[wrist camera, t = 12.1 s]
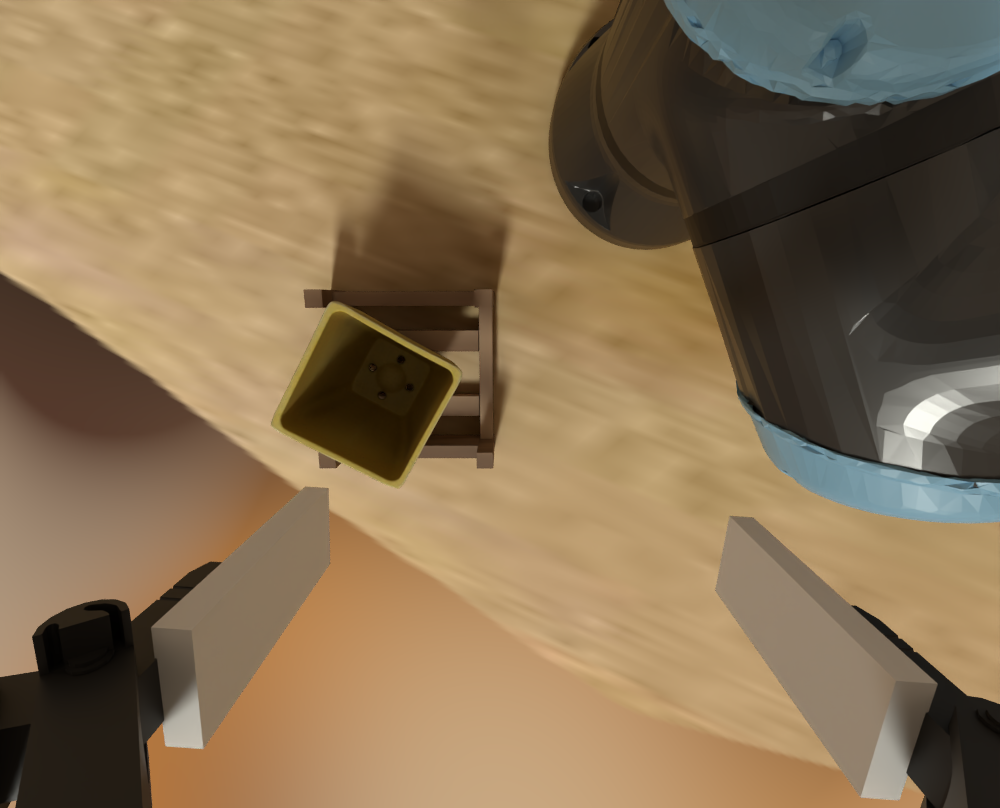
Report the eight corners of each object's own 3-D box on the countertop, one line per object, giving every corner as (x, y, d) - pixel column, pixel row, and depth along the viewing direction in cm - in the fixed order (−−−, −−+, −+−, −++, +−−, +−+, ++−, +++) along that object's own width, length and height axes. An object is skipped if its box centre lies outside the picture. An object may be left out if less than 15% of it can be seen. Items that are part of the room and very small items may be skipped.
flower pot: (314, 397, 36) (265, 427, 27) (363, 299, 35) (330, 297, 26) (414, 448, 38) (399, 492, 29) (465, 355, 36) (466, 372, 28)
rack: (330, 291, 36) (303, 289, 31) (493, 291, 36) (492, 289, 31) (342, 447, 39) (319, 468, 34) (494, 447, 39) (493, 468, 34)
